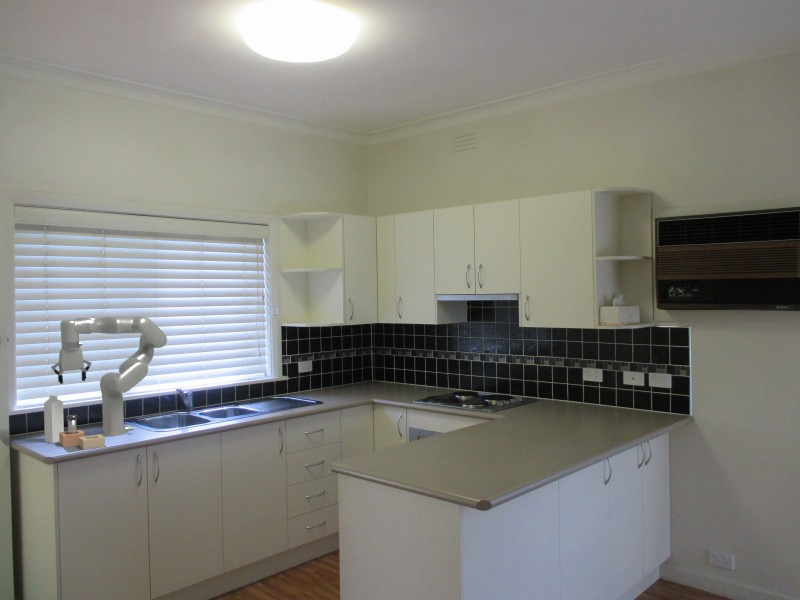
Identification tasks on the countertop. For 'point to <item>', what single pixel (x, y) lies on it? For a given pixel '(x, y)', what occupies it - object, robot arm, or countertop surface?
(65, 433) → the board
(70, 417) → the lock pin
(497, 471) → the countertop surface
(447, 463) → the countertop surface
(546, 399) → the countertop surface
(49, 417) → the milk
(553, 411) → the countertop surface
